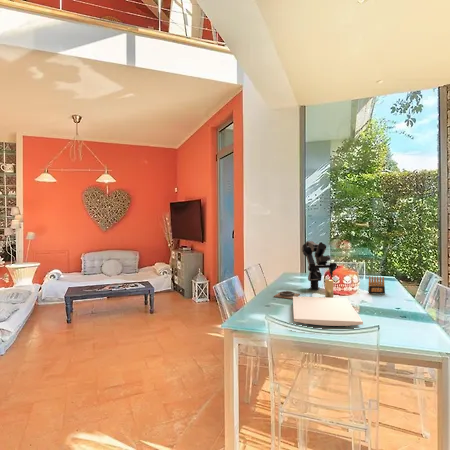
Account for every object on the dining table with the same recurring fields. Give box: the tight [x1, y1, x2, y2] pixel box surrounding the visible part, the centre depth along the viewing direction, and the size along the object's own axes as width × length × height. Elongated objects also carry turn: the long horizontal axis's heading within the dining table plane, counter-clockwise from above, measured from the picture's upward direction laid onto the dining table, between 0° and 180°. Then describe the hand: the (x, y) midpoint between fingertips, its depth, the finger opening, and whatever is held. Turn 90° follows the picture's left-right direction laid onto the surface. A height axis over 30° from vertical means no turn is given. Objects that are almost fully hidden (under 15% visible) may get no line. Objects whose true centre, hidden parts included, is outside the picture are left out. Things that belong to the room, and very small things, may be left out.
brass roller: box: [324, 279, 334, 298], centre depth 211 cm, size 5×5×13 cm
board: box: [292, 296, 364, 327], centre depth 180 cm, size 45×32×5 cm
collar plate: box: [273, 290, 301, 300], centre depth 224 cm, size 14×14×2 cm
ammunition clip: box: [367, 275, 386, 294], centre depth 227 cm, size 11×2×12 cm, turn 82°
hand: (325, 276), depth 219 cm, fingers open, 9 cm apart
